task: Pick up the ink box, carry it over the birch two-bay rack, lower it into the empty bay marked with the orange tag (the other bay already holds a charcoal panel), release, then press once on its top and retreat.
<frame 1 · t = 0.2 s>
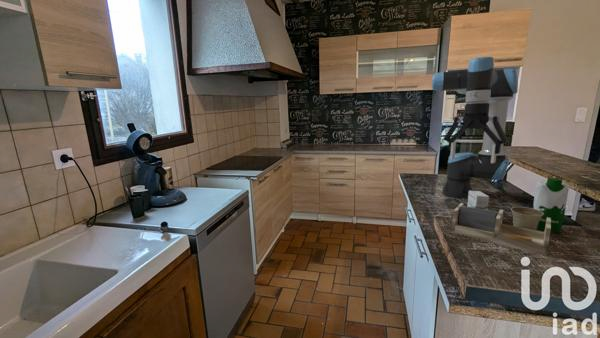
hand: (471, 160, 103), 27 cm above the worktop, fingers open, 13 cm apart
flower pot: (523, 233, 102), on the worktop
ink box: (476, 220, 116), on the worktop
rack: (496, 237, 99), on the worktop
milk carton: (545, 228, 106), on the worktop
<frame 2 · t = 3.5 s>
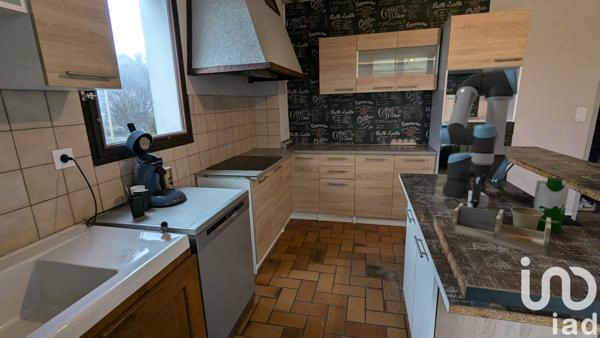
hand: (476, 214, 115), 2 cm above the worktop, fingers closed on ink box, 9 cm apart
ink box: (476, 220, 116), on the worktop, touching gripper
everything else where it was.
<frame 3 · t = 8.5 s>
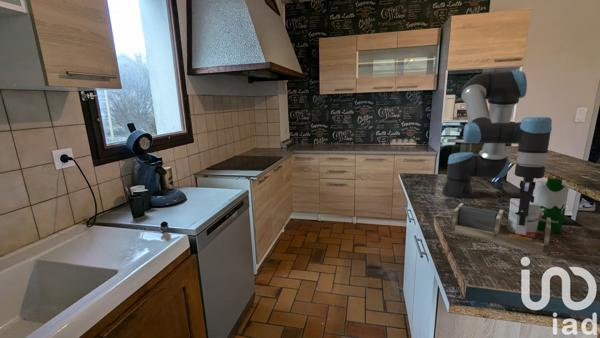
hand: (521, 228, 94), 5 cm above the worktop, fingers closed on ink box, 9 cm apart
flower pot: (523, 233, 102), on the worktop, touching gripper
ink box: (520, 234, 94), point 3 cm above the worktop, touching gripper
everything else where it was.
when the fingers open (5 cm above the worktop, at t = 9.3 s): ink box drops 2 cm, resting on rack.
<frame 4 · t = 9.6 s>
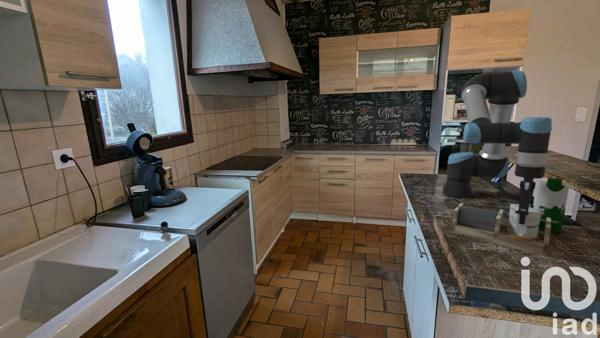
hand: (521, 226, 93), 6 cm above the worktop, fingers open, 12 cm apart
ink box: (520, 240, 95), point 1 cm above the worktop, touching rack
everything else where it was.
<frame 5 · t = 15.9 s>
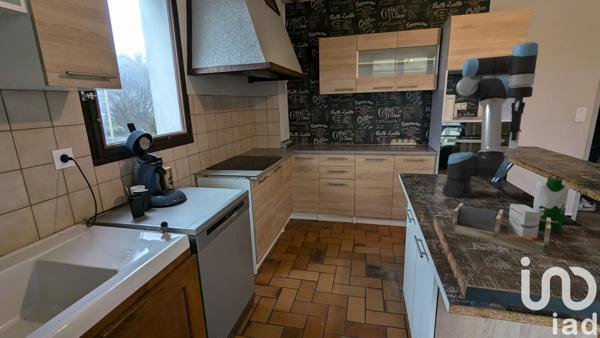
hand: (512, 148, 108), 30 cm above the worktop, fingers closed
flower pot: (523, 233, 102), on the worktop
everything else where it was.
at the end: ink box inside the target area on the rack (0.3 cm from its centre), point 0.8 cm above the rack's base; ink box tilted 0°; the gripper is holding nothing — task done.
